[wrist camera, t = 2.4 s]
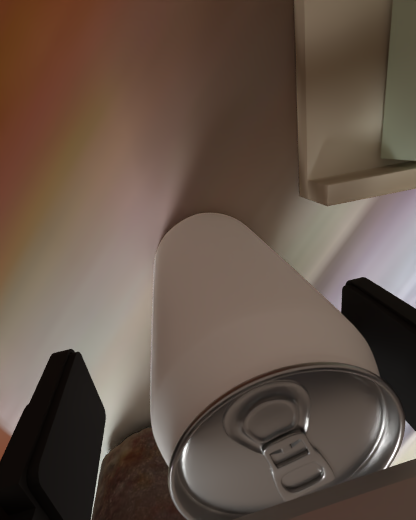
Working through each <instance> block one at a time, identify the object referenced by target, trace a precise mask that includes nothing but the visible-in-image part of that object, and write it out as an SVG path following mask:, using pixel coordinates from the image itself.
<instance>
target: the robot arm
mask: <svg viewBox="0 0 416 520" xmlns="http://www.w3.org/2000/svg"><path fill="white" fill-rule="evenodd" d="M341 313H342V314H343V315H344V316H345V317H346V318H347V319H348V320H349V321H350V322H351V323H352V324H353V325H354V326H355V328H356V329H357V330H358V331H359V332H360V333H361V335H362V336H363V337H364V339H365V340H366V342H367V343H368V345H369V347H370V349H371V351H372V353H373V356H374V359H375V361H376V364H377V368H378V371H379V374H380V377H381V378H382V379H384V380H385V381H386V382H387V383H388V384H389V385H390V386H391V387H392V388H393V389H394V390H395V392H396V393H397V395H398V397H399V398H400V400H401V403H402V405H403V409H404V413H405V420H406V421H407V422H408V423H409V424H410V426H411V427H412V428H413V429H414V430H415V431H416V309H415V308H414V307H412V306H410V305H409V304H407V303H406V302H404V301H402V300H401V299H399V298H398V297H396V296H394V295H393V294H391V293H390V292H388V291H386V290H385V289H383V288H381V287H380V286H378V285H377V284H375V283H373V282H372V281H370V280H369V279H367V278H365V277H361V278H357V279H353V280H349V281H347V283H346V285H345V286H344V287H343V289H342V308H341ZM105 420H106V415H105V409H104V406H103V404H102V402H101V400H100V397H99V395H98V393H97V390H96V388H95V386H94V383H93V381H92V379H91V376H90V374H89V372H88V369H87V367H86V365H85V362H84V360H83V358H82V355H81V354H80V352H74V350H73V349H69V350H65V351H60V352H56V353H53V354H52V355H51V356H50V359H49V361H48V363H47V365H46V367H45V370H44V372H43V374H42V376H41V379H40V381H39V383H38V385H37V387H36V390H35V392H34V394H33V396H32V399H31V401H30V403H29V404H28V405H27V406H26V408H25V409H24V411H23V413H22V415H21V417H20V419H19V422H18V424H17V426H16V428H15V430H14V433H13V435H12V437H11V439H10V441H9V443H8V446H7V448H6V450H5V453H4V455H3V457H2V459H1V461H0V520H91V514H92V507H93V501H94V494H95V487H96V480H97V474H98V467H99V460H100V454H101V447H102V440H103V434H104V427H105ZM233 520H416V459H413V460H410V461H407V462H404V463H401V464H398V465H395V466H392V467H389V468H386V469H383V470H380V471H377V472H374V473H371V474H368V475H365V476H362V477H359V478H356V479H353V480H350V481H347V482H344V483H341V484H338V485H335V486H332V487H329V488H326V489H323V490H320V491H317V492H314V493H311V494H308V495H305V496H302V497H299V498H296V499H293V500H290V501H287V502H284V503H281V504H278V505H275V506H272V507H269V508H266V509H263V510H260V511H257V512H254V513H251V514H248V515H245V516H242V517H239V518H236V519H233Z"/></svg>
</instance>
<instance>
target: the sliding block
mask: <svg viewBox="0 0 416 520" xmlns="http://www.w3.org/2000/svg"><path fill="white" fill-rule="evenodd" d="M380 158H382V159H397V160H412V161H416V0H393V5H392V18H391V30H390V43H389V56H388V69H387V81H386V94H385V107H384V119H383V132H382V145H381V157H380Z"/></svg>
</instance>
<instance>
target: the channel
mask: <svg viewBox="0 0 416 520" xmlns="http://www.w3.org/2000/svg"><path fill="white" fill-rule="evenodd" d="M392 5H393V0H294V18H295V52H296V87H297V122H298V157H299V192H300V196H301V197H304V198H306V199H309V200H312V201H315V202H317V203H320V204H323V205H326V206H331V205H336V204H341V203H346V202H351V201H356V200H361V199H366V198H371V197H376V196H381V195H386V194H391V193H396V192H400V191H405V190H410V189H415V188H416V161H412V160H397V159H382V158H380V157H381V145H382V132H383V119H384V107H385V94H386V81H387V69H388V56H389V43H390V30H391V18H392Z"/></svg>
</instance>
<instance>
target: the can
mask: <svg viewBox="0 0 416 520" xmlns="http://www.w3.org/2000/svg"><path fill="white" fill-rule="evenodd" d="M150 415H151V425H152V431H153V435H154V438H155V441H156V443H157V446H158V448H159V450H160V452H161V454H162V456H163V458H164V460H165V462H166V463H167V465H168V467H169V469H168V488H169V492H170V496H171V499H172V501H173V503H174V505H175V507H176V508H177V510H178V511H179V512H180V513H181V515H182V516H183V517H184V518H186V519H187V520H233V519H236V518H239V517H242V516H245V515H248V514H251V513H254V512H257V511H260V510H263V509H266V508H269V507H272V506H275V505H278V504H281V503H284V502H287V501H290V500H293V499H296V498H299V497H302V496H305V495H308V494H311V493H314V492H317V491H320V490H323V489H326V488H329V487H332V486H335V485H338V484H341V483H344V482H347V481H350V480H353V479H356V478H359V477H362V476H365V475H368V474H371V473H374V472H377V471H380V470H383V469H386V468H389V466H390V465H391V463H392V462H393V460H394V458H395V457H396V455H397V453H398V451H399V448H400V446H401V443H402V440H403V436H404V431H405V413H404V409H403V405H402V403H401V400H400V398H399V397H398V395H397V393H396V392H395V390H394V389H393V388H392V387H391V386H390V385H389V384H388V383H387V382H386V381H385V380H384V379H382V378H381V377H380V374H379V371H378V368H377V364H376V361H375V359H374V356H373V353H372V351H371V349H370V347H369V345H368V343H367V342H366V340H365V339H364V337H363V336H362V335H361V333H360V332H359V331H358V330H357V329H356V328H355V326H354V325H353V324H352V323H351V322H350V321H349V320H348V319H347V318H346V317H345V316H344V315H343V314H342V313H341V312H340V311H339V310H337V309H336V308H335V307H334V306H333V305H332V304H331V303H330V302H329V301H328V300H327V299H326V298H325V297H324V296H323V295H322V294H320V293H319V292H318V291H317V290H316V289H315V288H314V287H313V286H312V285H311V284H310V283H309V282H308V281H306V280H305V279H304V278H303V277H302V276H301V275H300V274H299V273H298V272H297V271H296V270H295V269H293V268H292V267H291V266H290V265H289V264H288V263H287V262H286V261H285V260H284V259H283V258H281V257H280V256H279V255H278V254H277V253H276V252H275V251H274V250H273V249H272V248H270V247H269V246H268V245H267V244H266V243H265V242H264V241H263V240H262V239H261V238H259V237H258V236H257V235H256V234H255V233H254V232H253V231H252V230H250V229H249V228H248V227H247V226H246V225H245V224H243V223H242V222H240V221H239V220H237V219H235V218H233V217H231V216H228V215H225V214H220V213H200V214H195V215H192V216H190V217H188V218H186V219H184V220H182V221H181V222H179V223H178V224H176V225H175V226H174V227H173V228H172V229H170V230H169V231H168V232H167V233H166V235H165V236H164V237H163V239H162V240H161V242H160V244H159V246H158V248H157V251H156V255H155V260H154V271H153V296H152V328H151V366H150Z"/></svg>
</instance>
